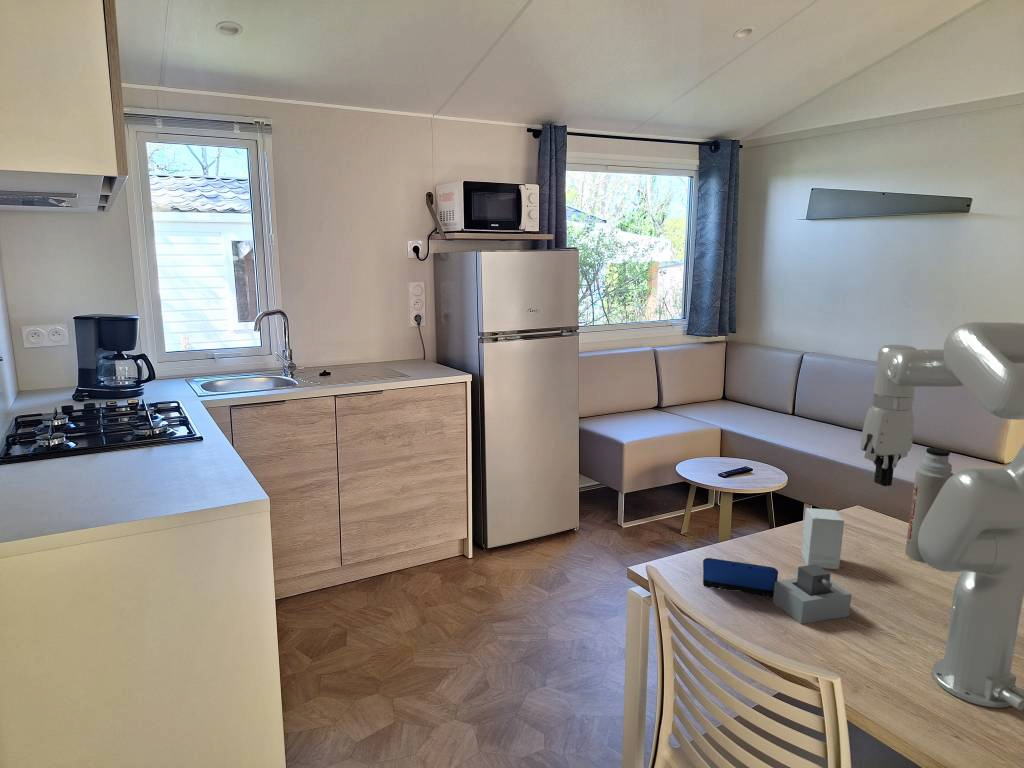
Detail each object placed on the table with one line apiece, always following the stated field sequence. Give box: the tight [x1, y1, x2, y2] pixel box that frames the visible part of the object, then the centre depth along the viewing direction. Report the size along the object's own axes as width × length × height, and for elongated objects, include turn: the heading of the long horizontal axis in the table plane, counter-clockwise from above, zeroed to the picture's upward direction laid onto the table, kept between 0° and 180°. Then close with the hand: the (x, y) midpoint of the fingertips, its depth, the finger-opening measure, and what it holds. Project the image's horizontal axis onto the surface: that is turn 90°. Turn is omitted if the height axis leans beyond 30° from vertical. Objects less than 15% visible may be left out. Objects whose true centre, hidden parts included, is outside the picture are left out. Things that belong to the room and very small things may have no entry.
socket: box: [772, 577, 853, 625], centre depth 144 cm, size 9×12×5 cm
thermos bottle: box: [904, 447, 955, 563], centre depth 168 cm, size 8×8×28 cm
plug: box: [796, 564, 832, 596], centre depth 142 cm, size 4×7×8 cm, turn 16°
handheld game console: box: [702, 557, 779, 599], centre depth 153 cm, size 16×13×9 cm
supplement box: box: [800, 507, 845, 570], centre depth 165 cm, size 7×7×13 cm
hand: (882, 483), depth 148 cm, fingers closed
